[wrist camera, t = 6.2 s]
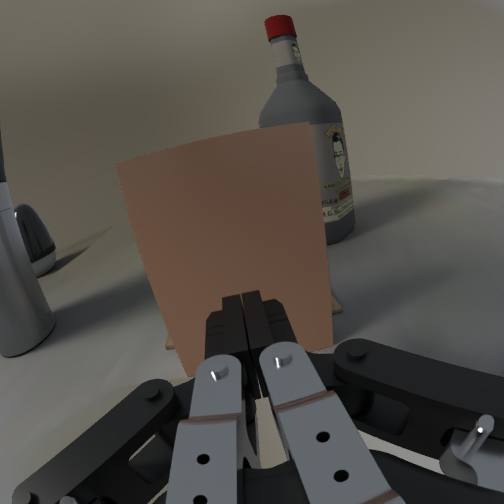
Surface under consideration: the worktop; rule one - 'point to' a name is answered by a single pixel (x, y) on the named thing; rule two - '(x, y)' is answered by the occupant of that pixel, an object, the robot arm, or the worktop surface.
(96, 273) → the worktop surface
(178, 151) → the tile
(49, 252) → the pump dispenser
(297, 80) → the liquor
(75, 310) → the worktop surface
